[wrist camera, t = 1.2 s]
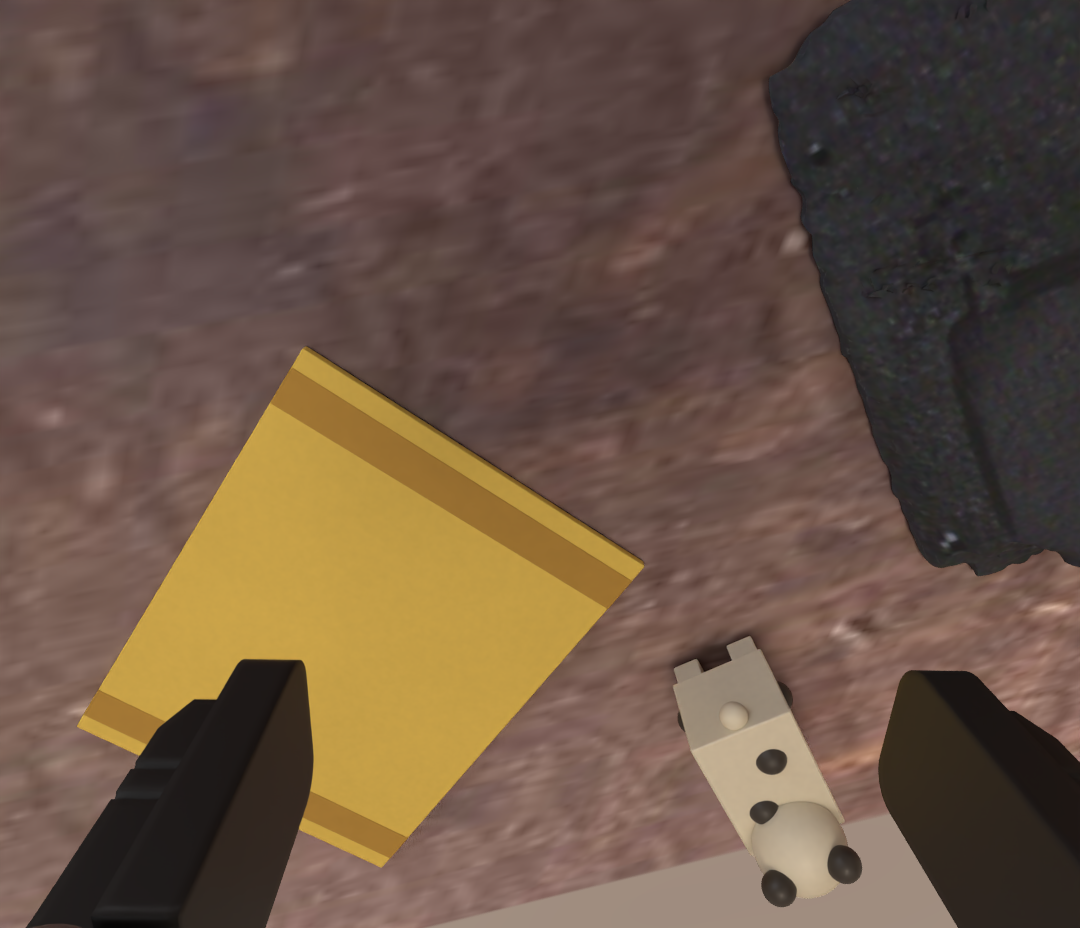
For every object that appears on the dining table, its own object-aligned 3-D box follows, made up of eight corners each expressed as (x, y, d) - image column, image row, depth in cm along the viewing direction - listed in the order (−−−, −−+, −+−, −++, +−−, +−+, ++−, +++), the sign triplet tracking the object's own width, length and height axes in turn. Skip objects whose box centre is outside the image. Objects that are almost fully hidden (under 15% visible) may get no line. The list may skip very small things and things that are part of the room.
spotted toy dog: (652, 651, 30) (689, 798, 23) (750, 609, 30) (819, 747, 23) (729, 789, 33) (783, 956, 26) (820, 754, 33) (900, 915, 26)
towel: (305, 345, 25) (302, 348, 25) (643, 561, 29) (645, 566, 28) (81, 720, 31) (75, 727, 31) (382, 860, 35) (381, 869, 34)
